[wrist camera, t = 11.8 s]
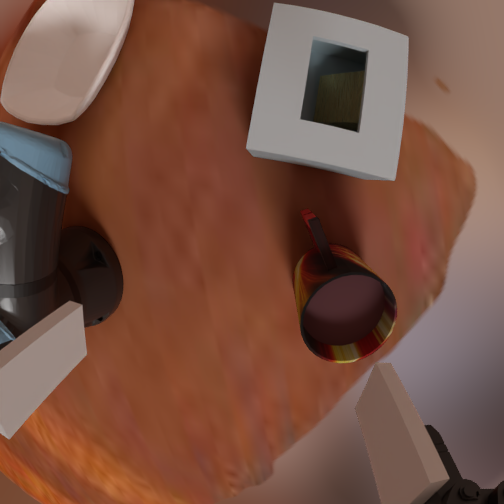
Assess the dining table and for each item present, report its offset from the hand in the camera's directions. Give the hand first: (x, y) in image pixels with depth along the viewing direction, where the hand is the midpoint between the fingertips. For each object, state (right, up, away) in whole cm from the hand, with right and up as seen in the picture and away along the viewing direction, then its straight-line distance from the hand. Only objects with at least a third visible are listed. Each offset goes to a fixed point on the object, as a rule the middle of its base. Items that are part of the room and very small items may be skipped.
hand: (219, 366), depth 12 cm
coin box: (+10, +23, +21) cm, 33 cm away
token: (+10, +22, +20) cm, 31 cm away
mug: (+10, +3, +27) cm, 28 cm away
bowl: (-23, +33, +22) cm, 45 cm away
